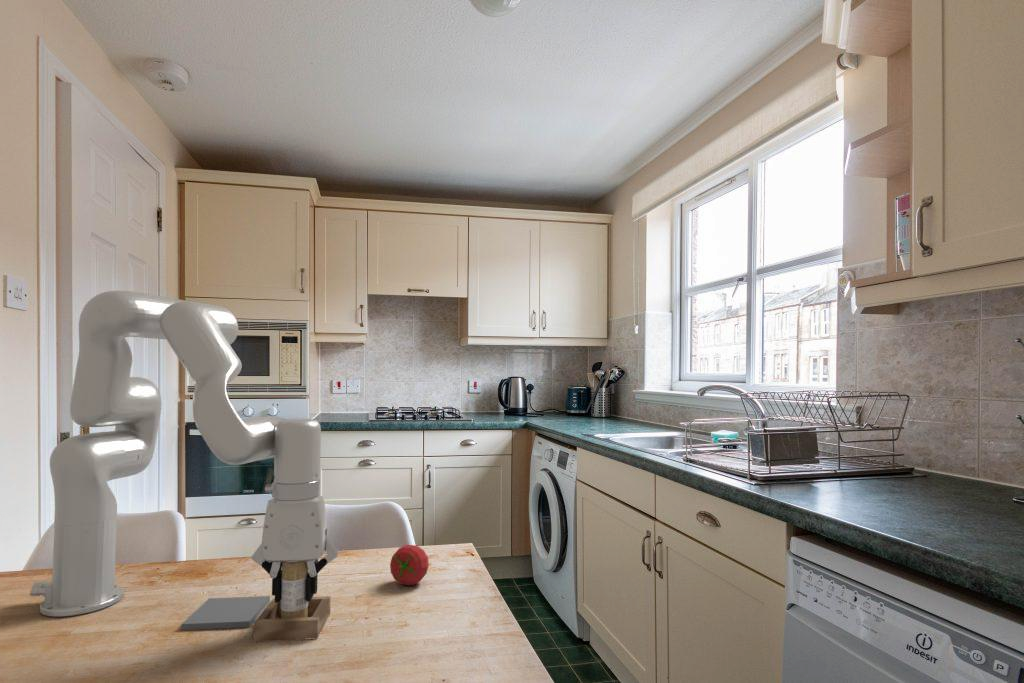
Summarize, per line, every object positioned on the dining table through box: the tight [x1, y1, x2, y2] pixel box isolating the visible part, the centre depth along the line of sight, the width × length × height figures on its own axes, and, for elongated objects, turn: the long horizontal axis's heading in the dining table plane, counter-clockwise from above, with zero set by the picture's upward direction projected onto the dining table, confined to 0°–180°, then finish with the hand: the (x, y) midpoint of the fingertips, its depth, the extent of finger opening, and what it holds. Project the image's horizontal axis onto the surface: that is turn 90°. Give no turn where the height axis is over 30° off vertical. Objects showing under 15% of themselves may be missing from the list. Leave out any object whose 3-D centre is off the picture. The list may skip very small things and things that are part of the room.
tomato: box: [389, 544, 430, 586], centre depth 118 cm, size 8×8×8 cm
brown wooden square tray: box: [253, 595, 332, 643], centre depth 98 cm, size 10×10×3 cm
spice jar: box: [281, 561, 309, 618], centre depth 98 cm, size 5×5×13 cm
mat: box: [180, 595, 271, 631], centre depth 103 cm, size 11×11×1 cm
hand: (294, 597), depth 98 cm, fingers closed on spice jar, 4 cm apart
